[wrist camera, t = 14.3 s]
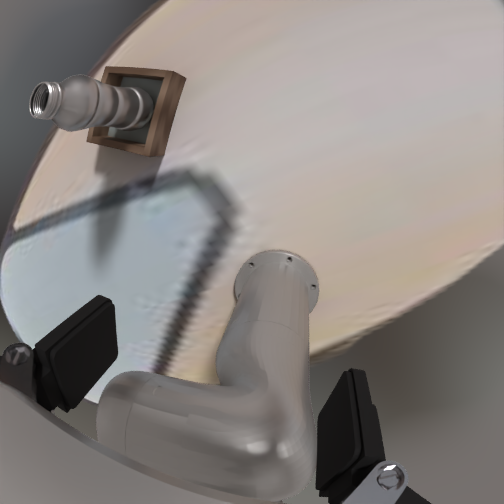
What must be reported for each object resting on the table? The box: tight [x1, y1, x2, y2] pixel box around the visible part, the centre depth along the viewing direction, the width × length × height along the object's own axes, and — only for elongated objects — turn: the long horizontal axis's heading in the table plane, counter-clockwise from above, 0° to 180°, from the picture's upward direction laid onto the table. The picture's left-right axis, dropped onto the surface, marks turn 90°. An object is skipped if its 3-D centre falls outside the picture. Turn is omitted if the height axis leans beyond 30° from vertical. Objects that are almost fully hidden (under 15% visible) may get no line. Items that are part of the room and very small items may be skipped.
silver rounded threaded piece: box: [29, 75, 154, 132], centre depth 26 cm, size 6×7×20 cm
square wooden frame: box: [87, 66, 186, 157], centre depth 34 cm, size 12×12×4 cm
